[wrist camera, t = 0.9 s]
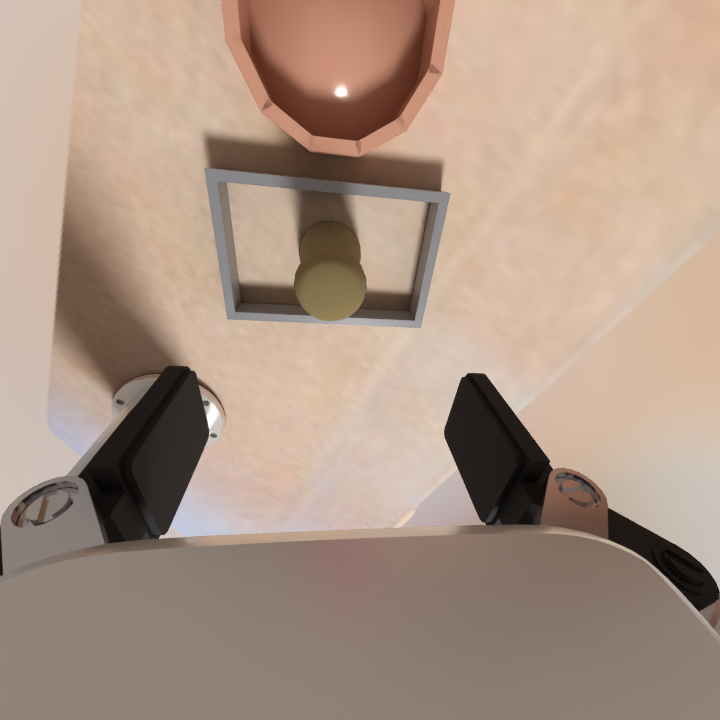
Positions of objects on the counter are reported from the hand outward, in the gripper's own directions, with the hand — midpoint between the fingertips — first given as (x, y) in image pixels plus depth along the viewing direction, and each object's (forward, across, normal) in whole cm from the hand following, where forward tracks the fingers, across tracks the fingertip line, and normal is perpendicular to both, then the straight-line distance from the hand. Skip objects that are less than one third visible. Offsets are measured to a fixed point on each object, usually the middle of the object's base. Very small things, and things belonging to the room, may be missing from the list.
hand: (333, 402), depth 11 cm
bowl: (+22, 0, -15) cm, 27 cm away
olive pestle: (+22, 0, 0) cm, 23 cm away
